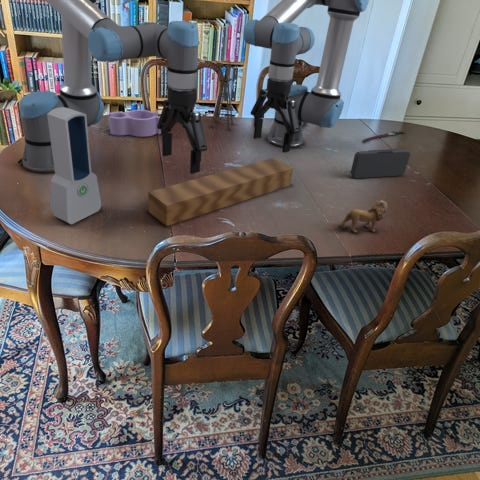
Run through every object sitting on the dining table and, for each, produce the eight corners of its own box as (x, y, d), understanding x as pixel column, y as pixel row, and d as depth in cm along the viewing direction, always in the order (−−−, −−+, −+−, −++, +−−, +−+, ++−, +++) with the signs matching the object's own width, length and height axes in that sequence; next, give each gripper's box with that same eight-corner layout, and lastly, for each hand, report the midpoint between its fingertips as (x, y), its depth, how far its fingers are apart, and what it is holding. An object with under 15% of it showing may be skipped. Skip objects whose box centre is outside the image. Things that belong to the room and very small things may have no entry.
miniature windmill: (228, 130, 204) (234, 58, 188) (210, 127, 205) (214, 55, 189) (233, 123, 211) (239, 54, 195) (215, 120, 212) (219, 51, 196)
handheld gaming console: (400, 172, 181) (407, 148, 176) (404, 175, 179) (412, 151, 174) (348, 175, 174) (354, 150, 169) (352, 179, 172) (358, 153, 167)
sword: (401, 130, 224) (401, 128, 224) (406, 132, 222) (407, 130, 222) (357, 141, 209) (358, 139, 208) (363, 144, 207) (363, 141, 206)
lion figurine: (375, 222, 146) (382, 196, 141) (385, 230, 142) (393, 204, 137) (334, 226, 141) (341, 200, 136) (343, 236, 137) (350, 209, 132)
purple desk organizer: (111, 137, 184) (110, 120, 181) (108, 126, 194) (107, 110, 190) (162, 136, 191) (162, 119, 187) (156, 125, 200) (156, 109, 197)
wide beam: (166, 226, 133) (166, 205, 129) (148, 212, 139) (148, 191, 135) (290, 185, 163) (293, 167, 159) (271, 175, 169) (273, 157, 165)
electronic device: (68, 226, 128) (55, 120, 112) (50, 217, 131) (34, 112, 115) (102, 209, 137) (94, 109, 121) (84, 201, 140) (74, 102, 124)
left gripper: (223, 99, 115) (218, 177, 127) (167, 74, 130) (167, 146, 142) (199, 102, 111) (196, 183, 122) (144, 77, 126) (145, 150, 137)
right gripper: (318, 88, 137) (306, 155, 148) (261, 68, 152) (254, 130, 163) (301, 91, 133) (290, 160, 144) (244, 70, 148) (238, 134, 159)
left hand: (180, 163), depth 132 cm, fingers open, 13 cm apart
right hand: (271, 144), depth 154 cm, fingers open, 13 cm apart
